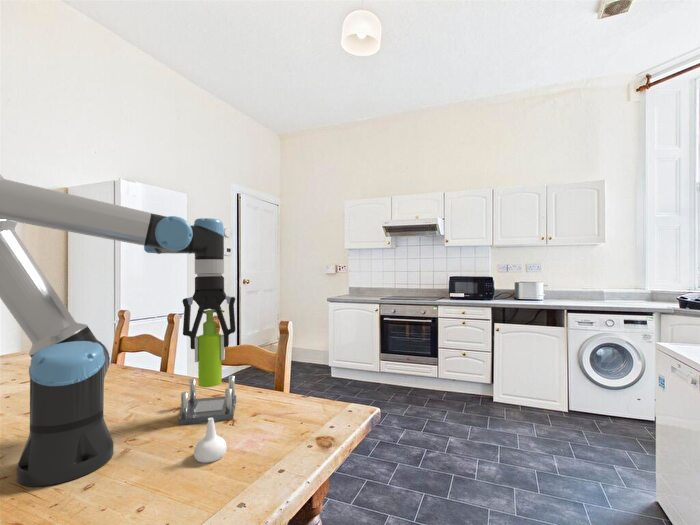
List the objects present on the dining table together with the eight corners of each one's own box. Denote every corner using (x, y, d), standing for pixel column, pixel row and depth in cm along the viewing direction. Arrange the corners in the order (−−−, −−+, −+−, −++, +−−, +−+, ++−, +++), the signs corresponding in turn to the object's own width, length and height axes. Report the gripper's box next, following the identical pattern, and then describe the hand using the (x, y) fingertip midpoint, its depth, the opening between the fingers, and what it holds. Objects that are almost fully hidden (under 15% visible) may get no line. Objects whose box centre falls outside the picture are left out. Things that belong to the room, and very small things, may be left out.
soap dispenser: (229, 382, 99) (228, 309, 99) (204, 388, 94) (203, 312, 94) (218, 378, 103) (218, 308, 103) (194, 384, 98) (194, 310, 98)
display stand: (233, 419, 93) (233, 390, 93) (178, 425, 90) (178, 394, 90) (236, 400, 107) (236, 374, 107) (188, 404, 103) (188, 378, 104)
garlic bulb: (215, 468, 71) (218, 428, 71) (186, 462, 72) (190, 423, 72) (231, 452, 77) (234, 415, 77) (204, 447, 78) (207, 410, 78)
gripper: (245, 274, 105) (246, 354, 105) (175, 275, 100) (175, 359, 100) (244, 275, 98) (245, 360, 97) (168, 276, 93) (169, 366, 93)
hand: (210, 359), depth 99 cm, fingers closed on soap dispenser, 6 cm apart
